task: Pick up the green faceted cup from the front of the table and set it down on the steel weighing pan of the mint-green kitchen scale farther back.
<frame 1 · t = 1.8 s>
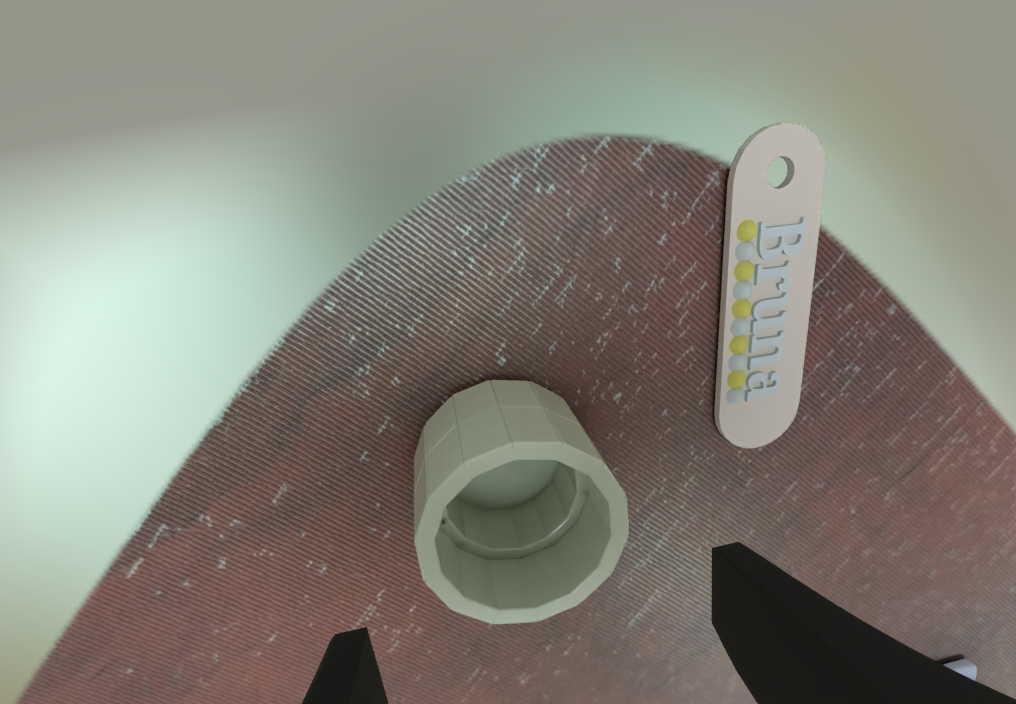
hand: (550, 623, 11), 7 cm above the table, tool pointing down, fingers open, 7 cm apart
green faceted cup: (499, 450, 18), on the table
keychain: (719, 309, 17), on the table
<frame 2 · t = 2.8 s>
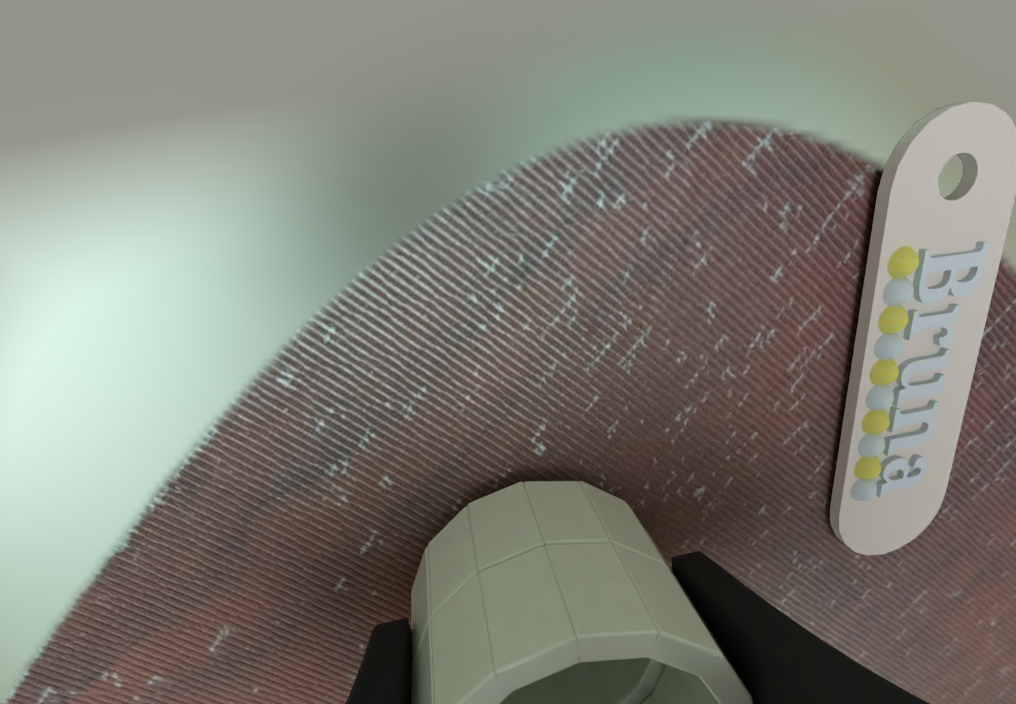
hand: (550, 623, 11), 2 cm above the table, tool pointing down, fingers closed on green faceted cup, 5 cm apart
green faceted cup: (532, 569, 13), on the table, touching gripper
keychain: (853, 373, 12), on the table
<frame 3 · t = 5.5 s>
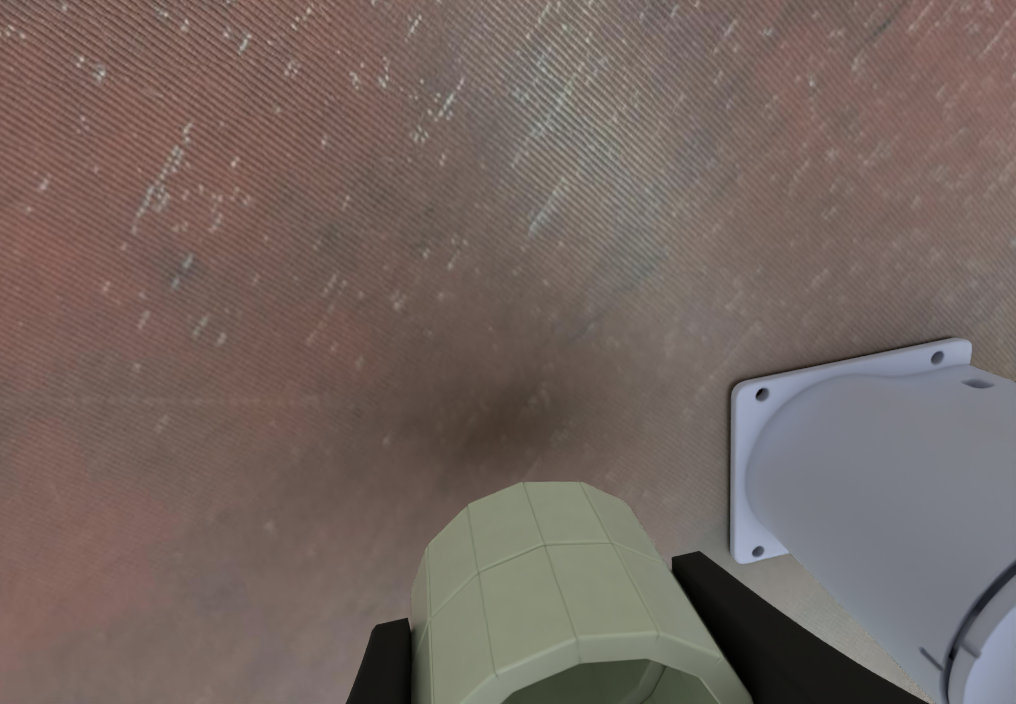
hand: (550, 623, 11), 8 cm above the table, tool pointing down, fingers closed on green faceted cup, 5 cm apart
green faceted cup: (532, 570, 13), point 7 cm above the table, touching gripper
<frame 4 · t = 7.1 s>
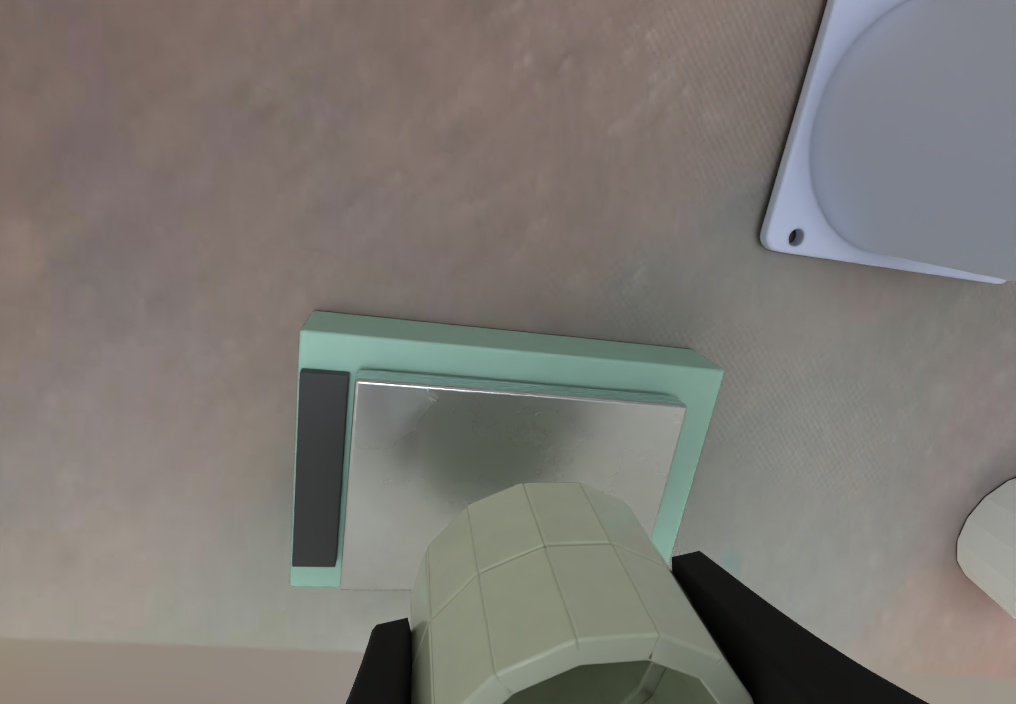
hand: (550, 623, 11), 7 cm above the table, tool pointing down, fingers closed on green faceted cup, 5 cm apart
green faceted cup: (532, 571, 13), point 6 cm above the table, touching gripper
scale: (497, 446, 18), on the table
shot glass: (1010, 526, 24), on the table
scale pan: (511, 490, 16), point 3 cm above the table, slide at 0.0 cm
when the fingers open (5 cm above the table, at t = 8.4 s): green faceted cup stays where it is, resting on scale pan.
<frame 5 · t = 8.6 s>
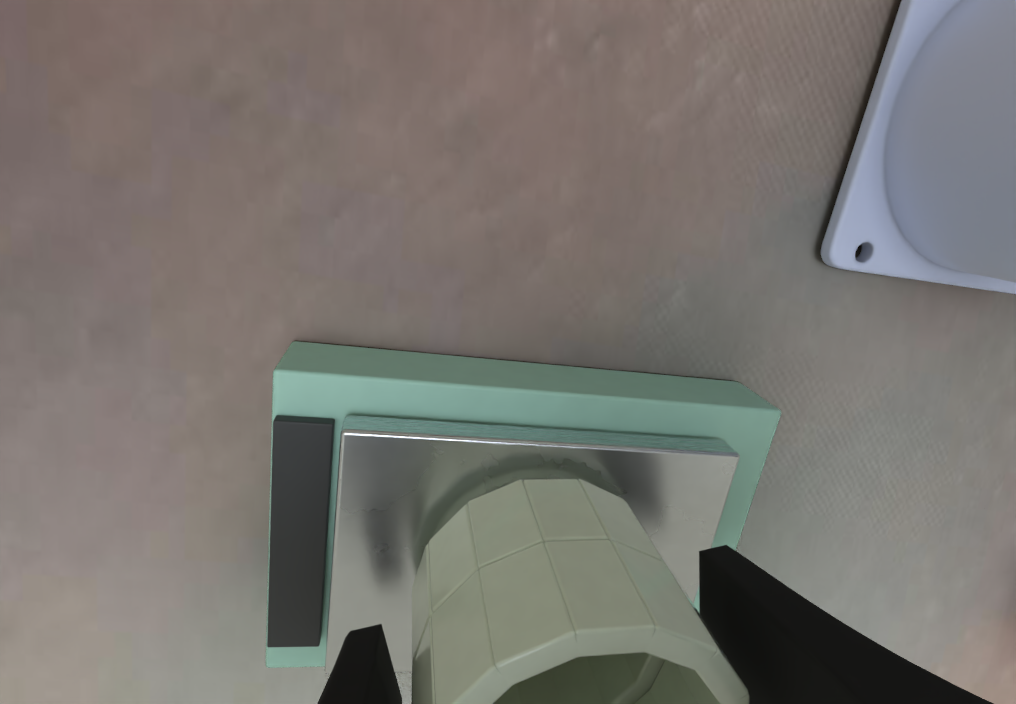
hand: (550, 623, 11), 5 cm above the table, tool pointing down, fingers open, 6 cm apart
green faceted cup: (531, 567, 13), point 3 cm above the table, touching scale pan
scale: (510, 494, 16), on the table
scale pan: (529, 554, 13), point 3 cm above the table, slide at -0.1 cm, touching green faceted cup
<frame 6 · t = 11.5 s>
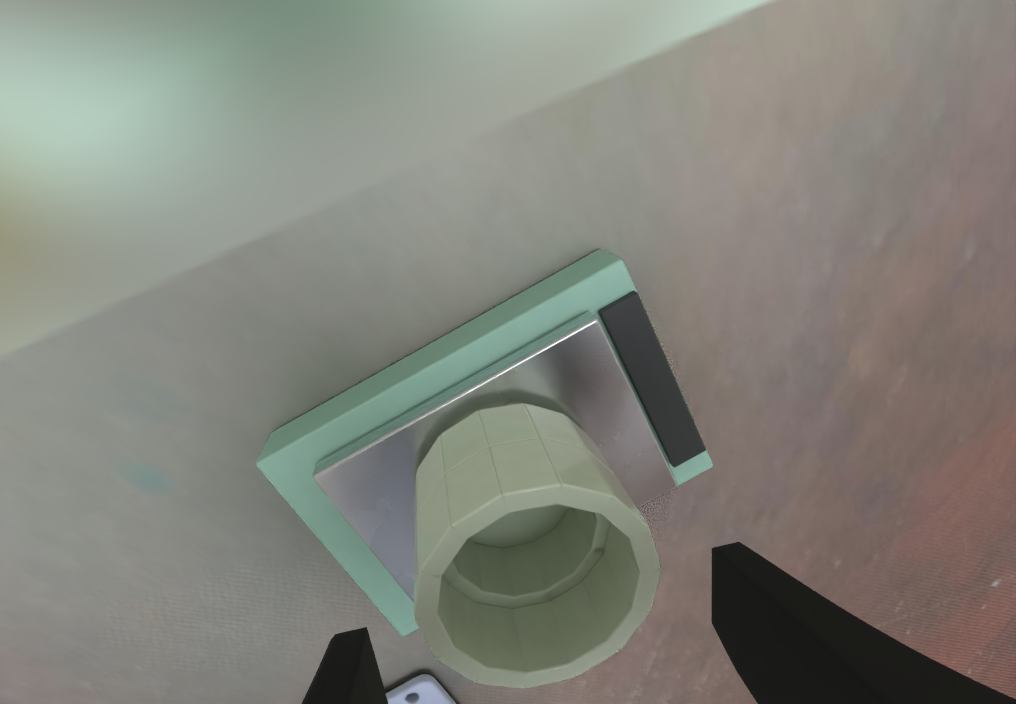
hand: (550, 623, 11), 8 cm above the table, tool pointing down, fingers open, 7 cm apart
green faceted cup: (507, 481, 16), point 3 cm above the table, touching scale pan
scale: (493, 435, 19), on the table
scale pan: (505, 475, 17), point 3 cm above the table, slide at -0.1 cm, touching green faceted cup
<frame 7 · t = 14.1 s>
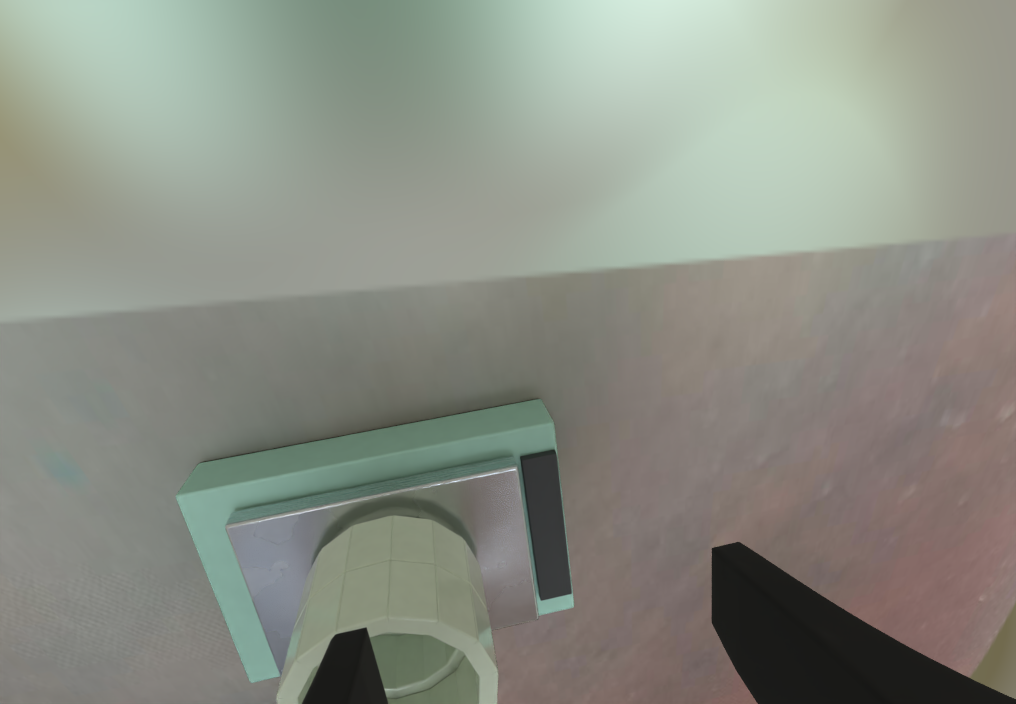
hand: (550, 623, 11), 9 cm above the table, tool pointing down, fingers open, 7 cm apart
green faceted cup: (395, 576, 18), point 3 cm above the table, touching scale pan
scale: (397, 522, 21), on the table
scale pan: (395, 569, 18), point 3 cm above the table, slide at -0.1 cm, touching green faceted cup
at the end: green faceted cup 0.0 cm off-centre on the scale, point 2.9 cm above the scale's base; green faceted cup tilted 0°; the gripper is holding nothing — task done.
